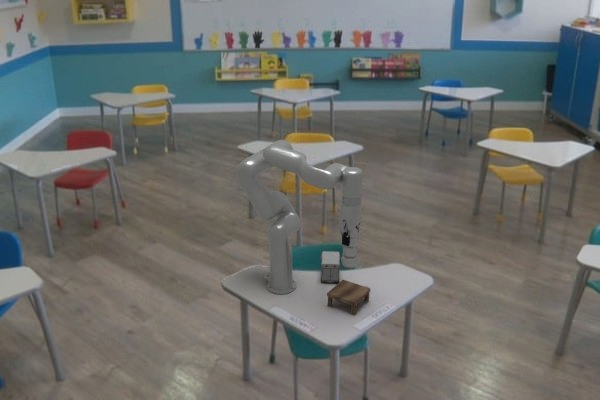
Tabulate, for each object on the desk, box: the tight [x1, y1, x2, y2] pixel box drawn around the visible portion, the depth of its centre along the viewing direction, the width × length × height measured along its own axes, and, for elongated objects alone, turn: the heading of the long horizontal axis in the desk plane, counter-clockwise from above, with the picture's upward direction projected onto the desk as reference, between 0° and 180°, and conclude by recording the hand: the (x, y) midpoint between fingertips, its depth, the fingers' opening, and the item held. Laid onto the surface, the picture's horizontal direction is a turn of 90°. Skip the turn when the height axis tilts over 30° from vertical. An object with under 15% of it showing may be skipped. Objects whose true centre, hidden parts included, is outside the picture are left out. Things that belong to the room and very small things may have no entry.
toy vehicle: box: [319, 250, 342, 284], centre depth 255 cm, size 10×17×10 cm, turn 177°
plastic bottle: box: [341, 227, 360, 269], centre depth 224 cm, size 6×7×20 cm
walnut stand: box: [326, 279, 371, 316], centre depth 234 cm, size 13×13×6 cm
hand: (350, 241), depth 224 cm, fingers closed on plastic bottle, 6 cm apart
